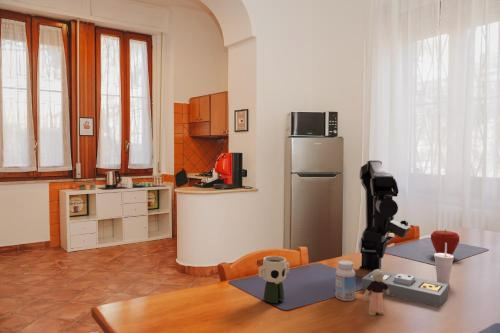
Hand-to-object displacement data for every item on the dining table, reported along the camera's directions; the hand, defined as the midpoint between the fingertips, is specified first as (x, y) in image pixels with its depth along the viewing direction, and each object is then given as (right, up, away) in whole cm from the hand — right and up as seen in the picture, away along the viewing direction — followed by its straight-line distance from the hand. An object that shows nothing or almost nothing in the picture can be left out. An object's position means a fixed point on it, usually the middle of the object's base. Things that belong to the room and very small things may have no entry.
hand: (380, 257), depth 133 cm
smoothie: (+24, -10, +5) cm, 26 cm away
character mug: (-37, -10, -13) cm, 40 cm away
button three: (+13, -9, -9) cm, 18 cm away
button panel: (+6, -10, -4) cm, 13 cm away
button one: (0, -9, +1) cm, 9 cm away
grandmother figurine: (-8, -11, -21) cm, 25 cm away
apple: (+41, -9, +39) cm, 57 cm away
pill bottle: (-14, -10, -10) cm, 20 cm away
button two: (+6, -8, -4) cm, 11 cm away
